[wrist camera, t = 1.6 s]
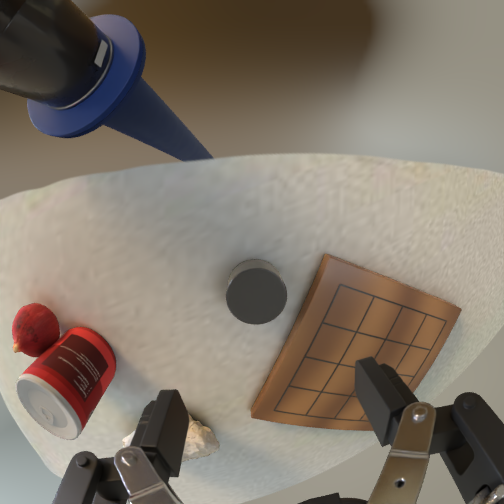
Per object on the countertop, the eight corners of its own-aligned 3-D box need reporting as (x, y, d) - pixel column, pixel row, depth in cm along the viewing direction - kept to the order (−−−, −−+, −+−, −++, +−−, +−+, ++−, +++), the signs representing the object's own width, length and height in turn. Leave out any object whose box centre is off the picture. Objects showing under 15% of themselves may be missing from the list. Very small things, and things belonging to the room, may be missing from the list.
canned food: (72, 372, 27) (32, 425, 16) (59, 318, 25) (4, 366, 15) (123, 386, 28) (90, 450, 17) (113, 330, 26) (63, 392, 15)
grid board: (250, 409, 29) (251, 418, 27) (325, 253, 25) (330, 257, 23) (380, 424, 31) (383, 431, 29) (455, 304, 27) (462, 309, 25)
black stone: (220, 300, 25) (217, 314, 22) (238, 251, 24) (237, 259, 22) (270, 316, 26) (273, 331, 23) (290, 269, 25) (296, 279, 22)
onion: (33, 289, 24) (-9, 314, 17) (68, 300, 25) (26, 331, 17) (40, 331, 26) (4, 362, 18) (74, 344, 26) (40, 381, 18)
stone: (211, 423, 33) (240, 462, 24) (145, 463, 28) (158, 508, 19) (180, 388, 32) (202, 426, 23) (110, 431, 27) (112, 477, 18)
